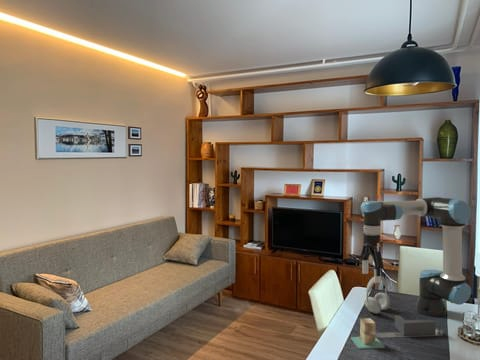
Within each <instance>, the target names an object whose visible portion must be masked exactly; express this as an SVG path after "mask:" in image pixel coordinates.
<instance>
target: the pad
mask: <svg viewBox="0 0 480 360" xmlns="http://www.w3.org/2000/svg"><path fill="white" fill-rule="evenodd" d="M350 340H352V342H353V344H354V345H355V346H356V347H357V349H358V348H359V349H358V350H365V349H367V350H368V349H385V345H384V344H383V342H381V341H380V339H379V338H376V337H375V344H369V345H364V344H363V342H362V341H361V340H360V336H351V337H350Z"/></svg>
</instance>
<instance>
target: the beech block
mask: <svg viewBox="0 0 480 360" xmlns="http://www.w3.org/2000/svg"><path fill="white" fill-rule="evenodd" d="M359 320H360V321H359V324H360V325H359V337H360V340H361V341H362V342H363V344H364V345H369V344H375V333H376V322H375V321H374V320H373V319H372V318H367V317H366V318H360V319H359Z"/></svg>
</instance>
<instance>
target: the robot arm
mask: <svg viewBox="0 0 480 360" xmlns="http://www.w3.org/2000/svg"><path fill="white" fill-rule="evenodd" d="M471 211H472V210H471V208H470V205H469V203H467V202H466V201H465V200H461V199H457V198H450V197H439V196H434V197H426V198H417V199H415V200H390V201H388V200H387V201H385V200H384V201H378V200H366V201H363V202H362V203H361V204H360V212H361V213H362V215H363V227H362V229H363V243H362V249H361V252H360V258H361V261H362V274H363V275H365V274H367V275H368V274H369V258H370V256H371V257H372V260H373V264H374V268H373V269H374V273H373V274H374V276H373V277H374V284H380V283H382V280H381V277H382V270H383V269H384V268H385V267H384V264H383V262H384V261H383V257H382V251H381V248H382V247H381V246H378V244H380V243H381V232H382V231H381V226H382V225H381V222H382V221H396V220H400V219H402V217H403V216H410V215H411V216H413V215H414V216H415V215H417V216H419V217H426V218H427V217H428V218H431V219H435V220H436V219H437V220H438V221H439V226H440V227H442V270H438V269H424V270H421V271H420V273H419V295H418V299H417V301H416V304H415V311H416V312H418V313H420V314H422V315H425V316H427V317H435V318H440V317H444V316H446V314H447V310H446V307H445V302H444V301H447V302H449V303H452V304H455V305H464V304H465V303H466V302H468V300H469V299H470V297H471V295H472V288H471V286H470V285H469V284H468V283H466V277H465V275H464V274H463V228H465V226H466V224H467V223H468V222H469V221H470V218H471V217H472V212H471Z"/></svg>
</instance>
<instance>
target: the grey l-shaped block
mask: <svg viewBox="0 0 480 360" xmlns="http://www.w3.org/2000/svg"><path fill="white" fill-rule="evenodd" d="M436 324H437V322H436V321H435V320H434V319H431V318H430V319H410V320H409V319H407V320H405V319H404V318H403V317H402V315H397V314H396V315H395V314H394V328H395V329H396V330H397V332H401V333H402V334H403V335H427V334H436V326H437V325H436Z"/></svg>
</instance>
